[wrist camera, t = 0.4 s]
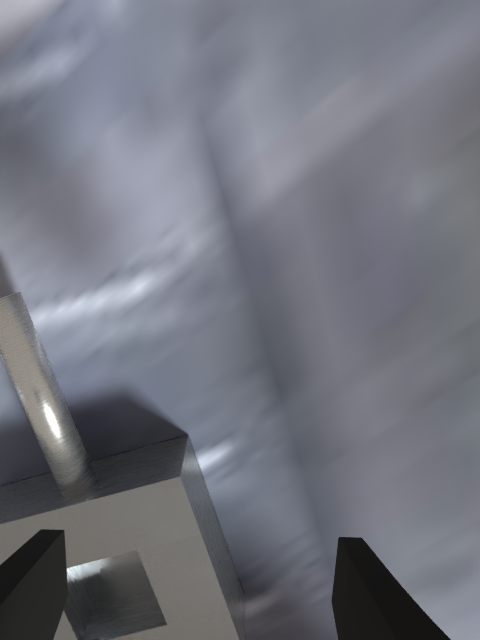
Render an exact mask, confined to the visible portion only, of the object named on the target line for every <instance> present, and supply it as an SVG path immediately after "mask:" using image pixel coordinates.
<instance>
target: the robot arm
mask: <svg viewBox="0 0 480 640" xmlns="http://www.w3.org/2000/svg"><path fill="white" fill-rule="evenodd" d="M67 597H68V583H67V565H66V548H65V531H64V530H51V529H41V530H40V531H38V532H37V533H36V534H35V535H34V536H33V537H31V538H30V539H29V540H28V541H27V542H26V543H25V544H23V545H22V546H21V547H20V548H19V549H18V550H17V551H15V552H14V553H13V554H12V555H11V556H10V557H9V558H8V559H6V560H5V561H4V562H3V563H2V564H1V565H0V640H53V639H54V636H55V633H56V631H57V628H58V625H59V622H60V619H61V616H62V613H63V610H64V607H65V604H66V601H67ZM332 606H333V612H334V618H335V623H336V629H337V634H338V639H339V640H451V639H450V638H449V637H448V636H447V635H446V634H445V633H444V632H443V631H442V630H441V629H440V628H439V627H438V626H437V625H436V624H435V623H434V622H433V621H432V620H431V619H430V618H429V616H428V615H427V614H426V613H425V612H424V611H423V610H422V609H421V608H420V606H419V605H418V604H417V603H416V602H415V601H414V600H413V599H412V597H411V596H410V595H409V594H408V593H407V592H406V591H405V589H404V588H403V587H402V586H401V585H400V584H399V582H398V581H397V580H396V579H395V578H394V576H393V575H392V574H391V573H390V572H389V570H388V569H387V568H386V567H385V566H384V564H383V563H382V562H381V561H380V559H379V558H378V557H377V556H376V554H375V553H374V552H373V551H372V550H371V548H370V547H369V546H368V545H367V543H366V542H365V541H364V540H363V539H362V538H353V537H339V539H338V548H337V557H336V566H335V575H334V585H333V594H332Z"/></svg>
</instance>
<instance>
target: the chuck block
mask: <svg viewBox="0 0 480 640" xmlns="http://www.w3.org/2000/svg"><path fill="white" fill-rule="evenodd" d="M0 356H1V358H2V361H3V363H4V365H5V367H6V370H7V372H8V374H9V376H10V379H11V381H12V383H13V386H14V388H15V390H16V392H17V395H18V397H19V399H20V401H21V404H22V406H23V408H24V411H25V413H26V415H27V417H28V420H29V422H30V424H31V426H32V429H33V431H34V433H35V435H36V438H37V440H38V442H39V445H40V447H41V449H42V451H43V454H44V456H45V458H46V460H47V463H48V465H49V467H50V470H51V472H50V473H47V474H43V475H39V476H36V477H32V478H28V479H25V480H21V481H17V482H14V483H10V484H6V485H2V486H0V565H1V564H2V563H3V562H4V561H5V560H6V559H8V558H9V557H10V556H11V555H12V554H13V553H14V552H15V551H17V550H18V549H19V548H20V547H21V546H22V545H23V544H25V543H26V542H27V541H28V540H29V539H30V538H31V537H33V536H34V535H35V534H36V533H37V532H38V531H40V530H41V529H51V530H64V531H65V548H66V565H67V583H68V597H67V601H66V604H65V607H64V610H63V613H62V616H61V619H60V622H59V625H58V628H57V631H56V633H55V636H54V639H53V640H245V611H244V593H243V590H242V587H241V584H240V582H239V579H238V576H237V573H236V570H235V567H234V564H233V561H232V559H231V556H230V553H229V550H228V547H227V544H226V541H225V538H224V536H223V533H222V530H221V527H220V524H219V521H218V518H217V515H216V513H215V510H214V507H213V504H212V501H211V498H210V495H209V492H208V490H207V487H206V484H205V481H204V478H203V475H202V472H201V469H200V467H199V464H198V461H197V458H196V455H195V452H194V449H193V446H192V444H191V441H190V438H189V435H187V436H183V437H180V438H176V439H172V440H168V441H165V442H161V443H157V444H154V445H150V446H146V447H143V448H139V449H135V450H132V451H128V452H124V453H121V454H117V455H113V456H109V457H106V458H102V459H98V460H95V461H91V462H90V460H89V457H88V455H87V453H86V450H85V448H84V445H83V443H82V440H81V438H80V436H79V433H78V431H77V428H76V426H75V424H74V421H73V419H72V416H71V414H70V411H69V409H68V407H67V404H66V402H65V399H64V397H63V395H62V392H61V390H60V387H59V385H58V383H57V380H56V378H55V375H54V373H53V370H52V368H51V366H50V363H49V361H48V358H47V356H46V354H45V351H44V349H43V346H42V344H41V341H40V339H39V337H38V334H37V332H36V329H35V327H34V325H33V322H32V320H31V317H30V315H29V312H28V310H27V308H26V305H25V303H24V300H23V298H22V296H21V293H20V292H17V293H14V294H10V295H7V296H3V297H0Z"/></svg>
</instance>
